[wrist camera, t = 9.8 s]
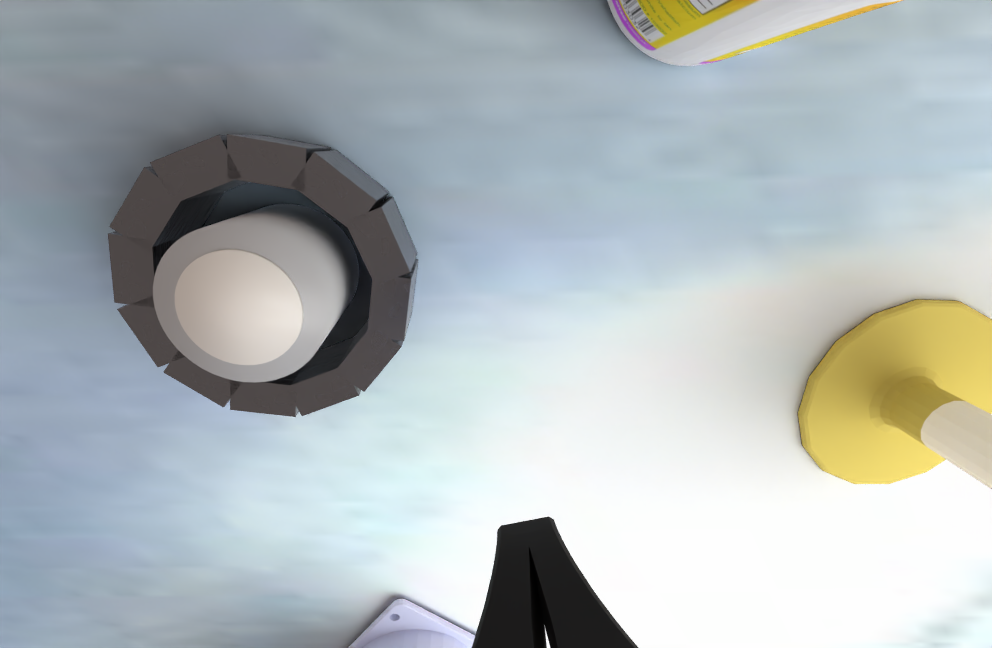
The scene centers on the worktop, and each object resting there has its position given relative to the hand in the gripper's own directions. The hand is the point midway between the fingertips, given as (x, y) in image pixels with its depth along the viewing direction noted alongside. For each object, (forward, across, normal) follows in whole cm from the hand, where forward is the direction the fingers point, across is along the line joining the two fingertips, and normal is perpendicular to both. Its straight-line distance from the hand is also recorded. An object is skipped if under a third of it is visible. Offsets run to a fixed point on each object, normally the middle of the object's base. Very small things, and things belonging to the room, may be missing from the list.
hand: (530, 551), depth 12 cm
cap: (+10, +7, -6) cm, 14 cm away
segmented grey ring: (+10, +7, -6) cm, 14 cm away
